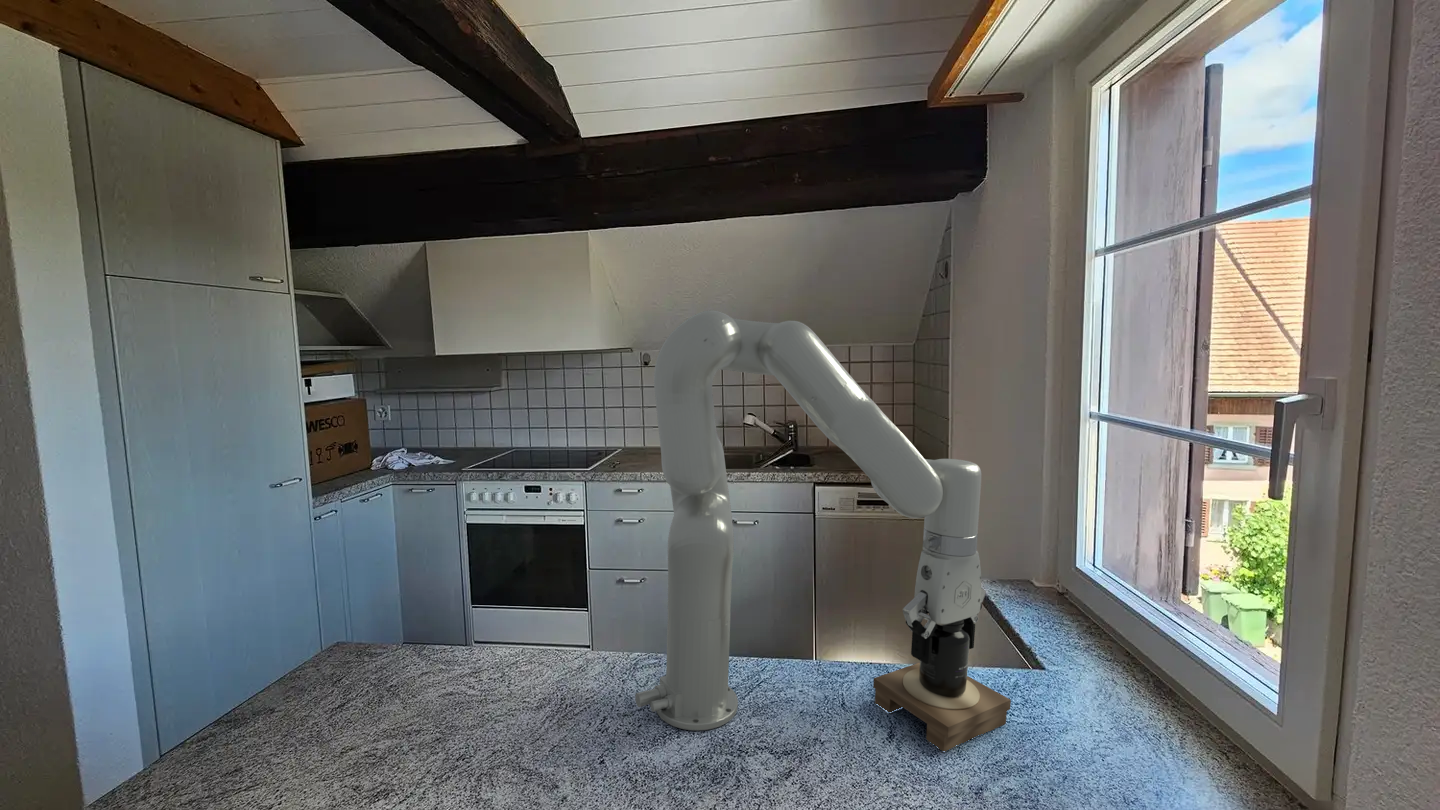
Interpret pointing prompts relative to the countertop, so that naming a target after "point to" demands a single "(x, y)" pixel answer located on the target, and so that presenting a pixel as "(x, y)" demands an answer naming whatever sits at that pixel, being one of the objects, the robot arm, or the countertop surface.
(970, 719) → the walnut stand
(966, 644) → the supplement bottle
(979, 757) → the countertop surface
